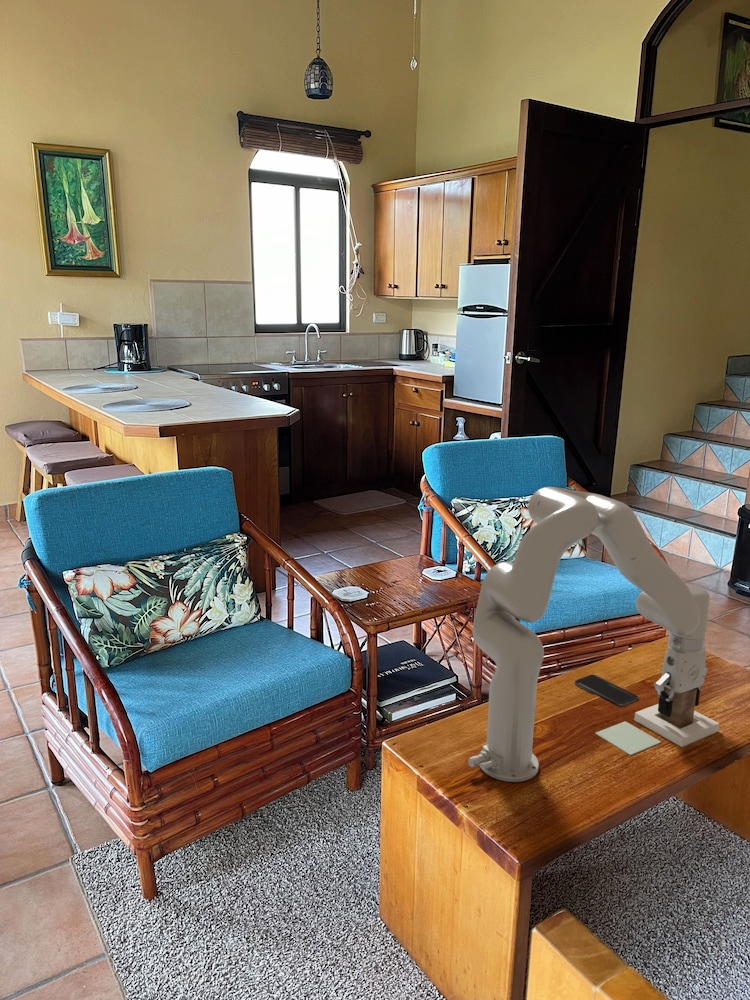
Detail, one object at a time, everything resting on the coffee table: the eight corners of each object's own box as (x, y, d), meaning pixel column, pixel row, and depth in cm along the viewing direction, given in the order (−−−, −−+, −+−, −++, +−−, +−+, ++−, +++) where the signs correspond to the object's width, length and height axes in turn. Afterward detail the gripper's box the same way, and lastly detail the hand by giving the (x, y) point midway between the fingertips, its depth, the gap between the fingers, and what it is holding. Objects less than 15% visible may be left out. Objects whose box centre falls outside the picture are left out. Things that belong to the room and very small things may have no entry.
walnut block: (677, 733, 168) (682, 693, 166) (659, 723, 173) (664, 684, 170) (692, 727, 171) (696, 688, 169) (673, 717, 175) (678, 679, 173)
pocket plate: (681, 748, 163) (682, 739, 163) (634, 721, 174) (635, 712, 173) (718, 732, 170) (719, 723, 169) (670, 707, 181) (671, 698, 180)
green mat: (630, 757, 160) (630, 754, 160) (595, 735, 168) (595, 732, 168) (660, 744, 165) (661, 741, 165) (625, 723, 173) (625, 721, 173)
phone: (620, 706, 180) (573, 681, 192) (619, 710, 180) (572, 685, 192) (641, 697, 184) (593, 673, 196) (640, 701, 184) (593, 677, 196)
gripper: (675, 655, 159) (667, 726, 163) (724, 638, 168) (716, 706, 172) (646, 642, 165) (639, 711, 170) (696, 626, 174) (688, 692, 178)
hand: (678, 708), depth 171 cm, fingers open, 9 cm apart
